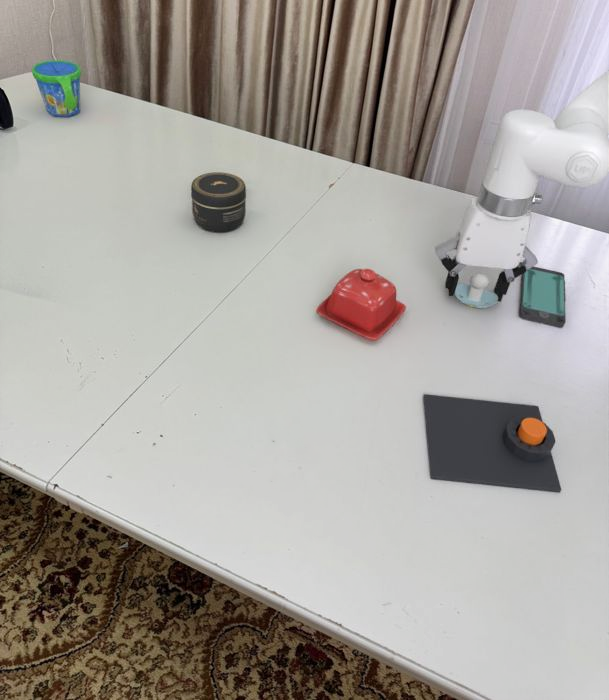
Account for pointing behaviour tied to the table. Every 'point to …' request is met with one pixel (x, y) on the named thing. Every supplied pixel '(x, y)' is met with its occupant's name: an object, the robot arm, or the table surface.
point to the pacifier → (476, 292)
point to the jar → (218, 201)
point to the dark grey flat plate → (486, 444)
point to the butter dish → (363, 304)
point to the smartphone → (543, 297)
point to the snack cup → (59, 86)
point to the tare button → (532, 431)
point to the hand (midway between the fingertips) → (473, 293)
